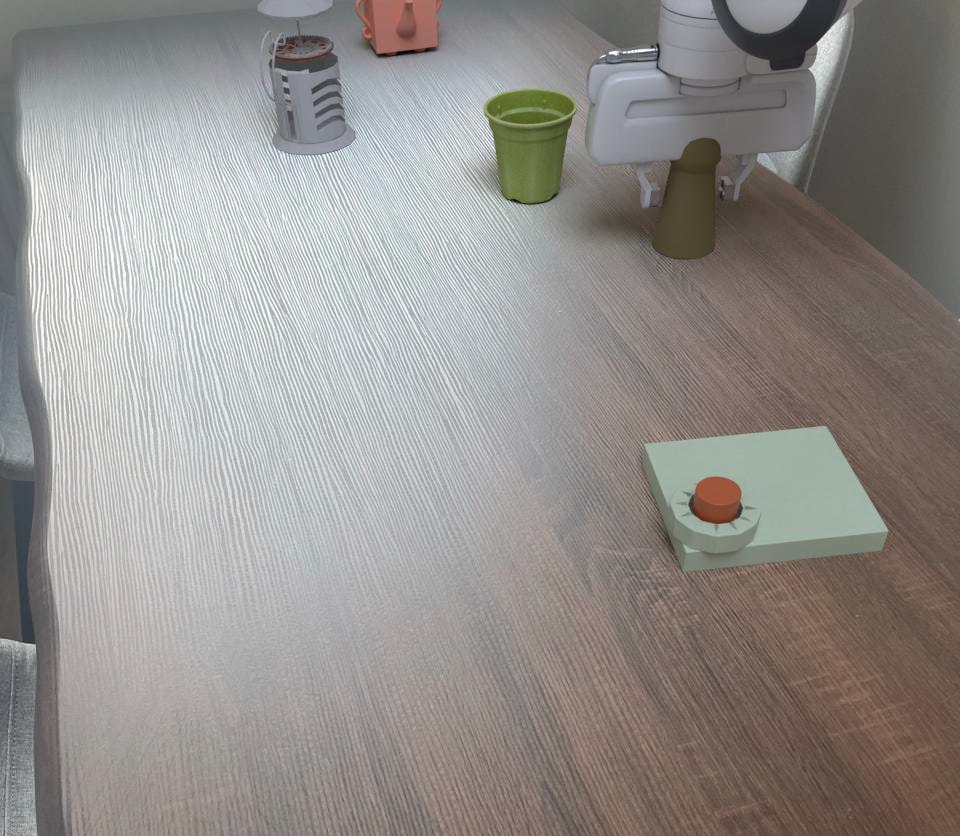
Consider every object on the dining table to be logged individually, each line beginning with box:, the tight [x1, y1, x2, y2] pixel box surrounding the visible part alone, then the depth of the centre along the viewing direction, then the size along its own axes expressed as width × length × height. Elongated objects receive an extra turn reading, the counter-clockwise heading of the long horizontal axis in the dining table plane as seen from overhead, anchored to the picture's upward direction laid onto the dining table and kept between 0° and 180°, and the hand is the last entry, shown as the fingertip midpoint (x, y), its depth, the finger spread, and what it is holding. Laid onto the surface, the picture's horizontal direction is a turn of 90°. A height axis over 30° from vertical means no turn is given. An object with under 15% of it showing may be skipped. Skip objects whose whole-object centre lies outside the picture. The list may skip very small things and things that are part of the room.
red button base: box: [641, 425, 890, 573], centre depth 72 cm, size 14×12×4 cm
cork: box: [651, 138, 723, 260], centre depth 96 cm, size 6×6×11 cm
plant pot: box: [482, 88, 578, 204], centre depth 106 cm, size 9×9×9 cm
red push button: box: [692, 476, 742, 524], centre depth 68 cm, size 3×3×2 cm
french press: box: [257, 0, 356, 156], centre depth 110 cm, size 10×12×25 cm
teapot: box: [354, 0, 443, 56], centre depth 136 cm, size 12×15×8 cm
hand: (688, 202), depth 97 cm, fingers open, 6 cm apart
